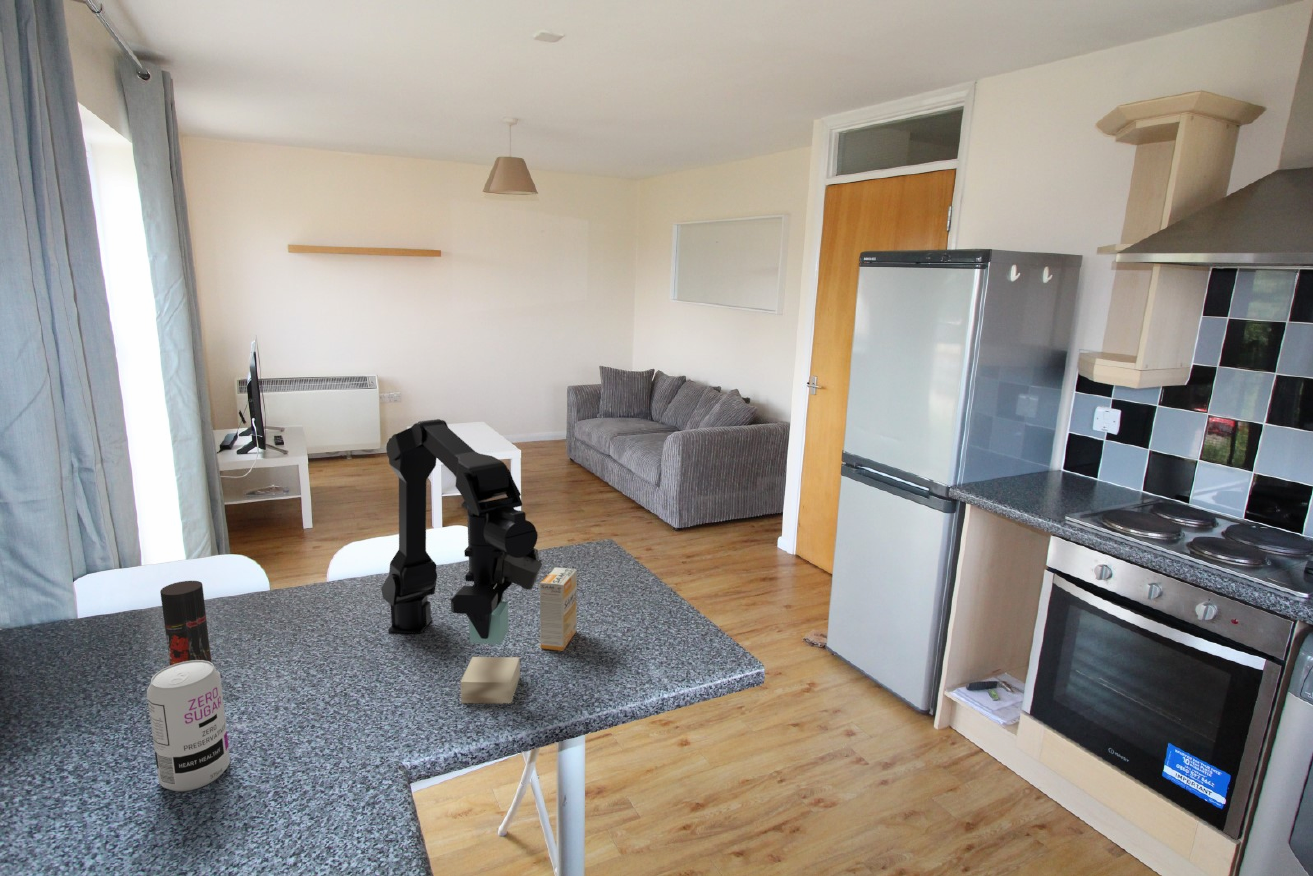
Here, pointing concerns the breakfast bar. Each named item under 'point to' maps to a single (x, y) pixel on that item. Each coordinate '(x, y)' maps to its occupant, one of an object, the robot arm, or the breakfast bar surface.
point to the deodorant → (185, 622)
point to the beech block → (490, 680)
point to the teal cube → (493, 626)
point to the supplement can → (188, 725)
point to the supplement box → (558, 608)
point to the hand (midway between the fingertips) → (489, 630)
